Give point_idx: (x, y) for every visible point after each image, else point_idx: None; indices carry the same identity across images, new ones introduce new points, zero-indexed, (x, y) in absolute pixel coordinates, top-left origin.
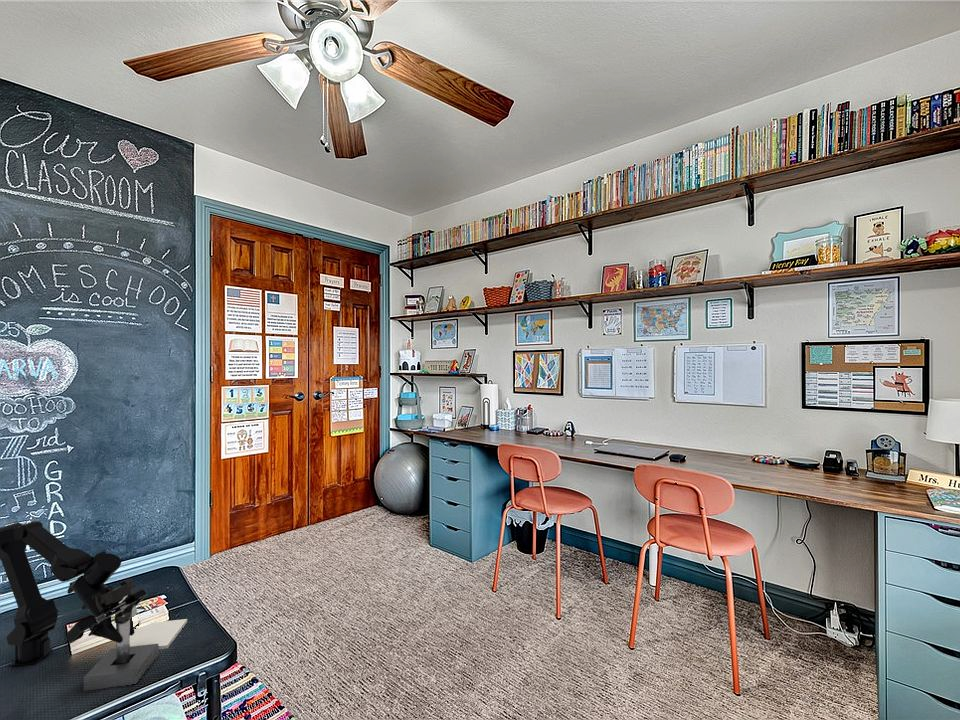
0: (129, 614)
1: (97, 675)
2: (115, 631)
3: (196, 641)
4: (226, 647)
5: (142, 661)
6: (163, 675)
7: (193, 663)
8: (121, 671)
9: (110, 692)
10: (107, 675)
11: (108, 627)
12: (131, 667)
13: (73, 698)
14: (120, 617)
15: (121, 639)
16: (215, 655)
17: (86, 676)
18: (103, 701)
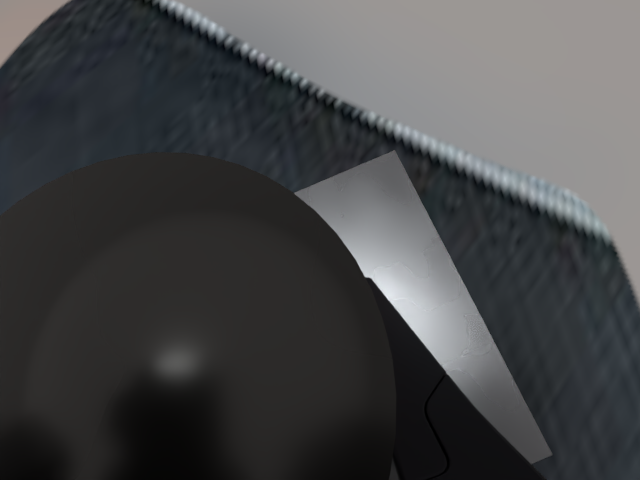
0: (126, 158)
1: (501, 367)
2: (400, 360)
3: (27, 180)
4: (71, 5)
5: (305, 198)
6: (300, 113)
7: (198, 53)
8: (420, 238)
9: (471, 260)
10: (471, 303)
11: (523, 474)
12: (371, 213)
13: (576, 431)
14: (348, 256)
15: (367, 281)
16: (132, 7)
17: (536, 443)
18: (533, 230)
